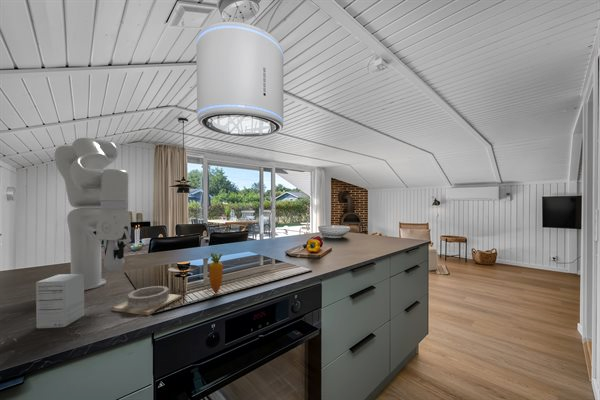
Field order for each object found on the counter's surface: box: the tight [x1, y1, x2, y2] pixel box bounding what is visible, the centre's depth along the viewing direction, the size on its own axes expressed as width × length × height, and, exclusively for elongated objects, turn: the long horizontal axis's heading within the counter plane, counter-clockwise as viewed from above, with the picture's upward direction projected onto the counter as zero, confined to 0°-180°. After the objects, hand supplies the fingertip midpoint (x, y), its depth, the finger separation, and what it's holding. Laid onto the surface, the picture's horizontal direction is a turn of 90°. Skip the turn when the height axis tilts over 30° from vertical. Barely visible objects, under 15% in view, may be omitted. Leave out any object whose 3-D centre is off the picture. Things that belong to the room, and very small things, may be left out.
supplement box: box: [35, 273, 85, 329], centre depth 72 cm, size 7×7×13 cm
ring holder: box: [111, 285, 183, 316], centre depth 84 cm, size 14×14×4 cm
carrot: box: [208, 252, 224, 294], centre depth 93 cm, size 5×5×15 cm
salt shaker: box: [103, 239, 126, 272], centre depth 86 cm, size 6×6×13 cm
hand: (114, 259), depth 86 cm, fingers closed on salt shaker, 3 cm apart
